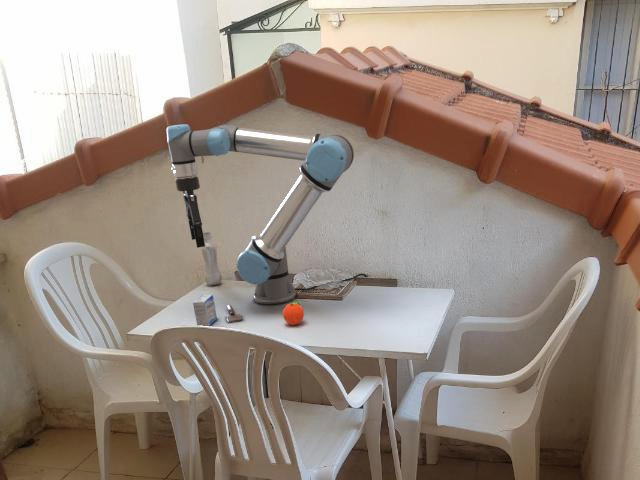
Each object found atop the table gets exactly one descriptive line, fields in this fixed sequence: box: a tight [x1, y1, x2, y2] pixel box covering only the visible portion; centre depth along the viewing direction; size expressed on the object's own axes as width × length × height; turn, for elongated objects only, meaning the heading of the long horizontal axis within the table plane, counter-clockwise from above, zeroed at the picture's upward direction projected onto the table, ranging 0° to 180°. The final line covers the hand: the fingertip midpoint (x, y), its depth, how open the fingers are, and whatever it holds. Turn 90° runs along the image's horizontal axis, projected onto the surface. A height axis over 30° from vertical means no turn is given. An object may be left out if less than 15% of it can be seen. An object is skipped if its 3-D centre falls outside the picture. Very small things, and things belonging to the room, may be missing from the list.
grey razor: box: [225, 304, 243, 324], centre depth 241 cm, size 16×5×2 cm, turn 15°
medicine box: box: [192, 294, 218, 327], centre depth 234 cm, size 8×4×9 cm, turn 169°
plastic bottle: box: [199, 231, 222, 286], centre depth 272 cm, size 6×7×20 cm
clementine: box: [282, 302, 305, 326], centre depth 227 cm, size 8×7×7 cm
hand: (198, 243), depth 236 cm, fingers open, 13 cm apart
